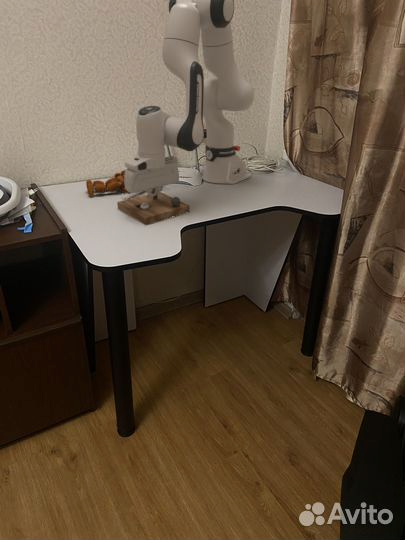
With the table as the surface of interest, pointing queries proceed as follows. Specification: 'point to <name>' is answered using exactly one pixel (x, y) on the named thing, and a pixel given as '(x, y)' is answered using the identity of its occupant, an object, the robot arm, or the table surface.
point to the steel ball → (144, 206)
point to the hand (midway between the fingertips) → (153, 199)
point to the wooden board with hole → (152, 208)
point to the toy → (107, 185)
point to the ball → (175, 201)
